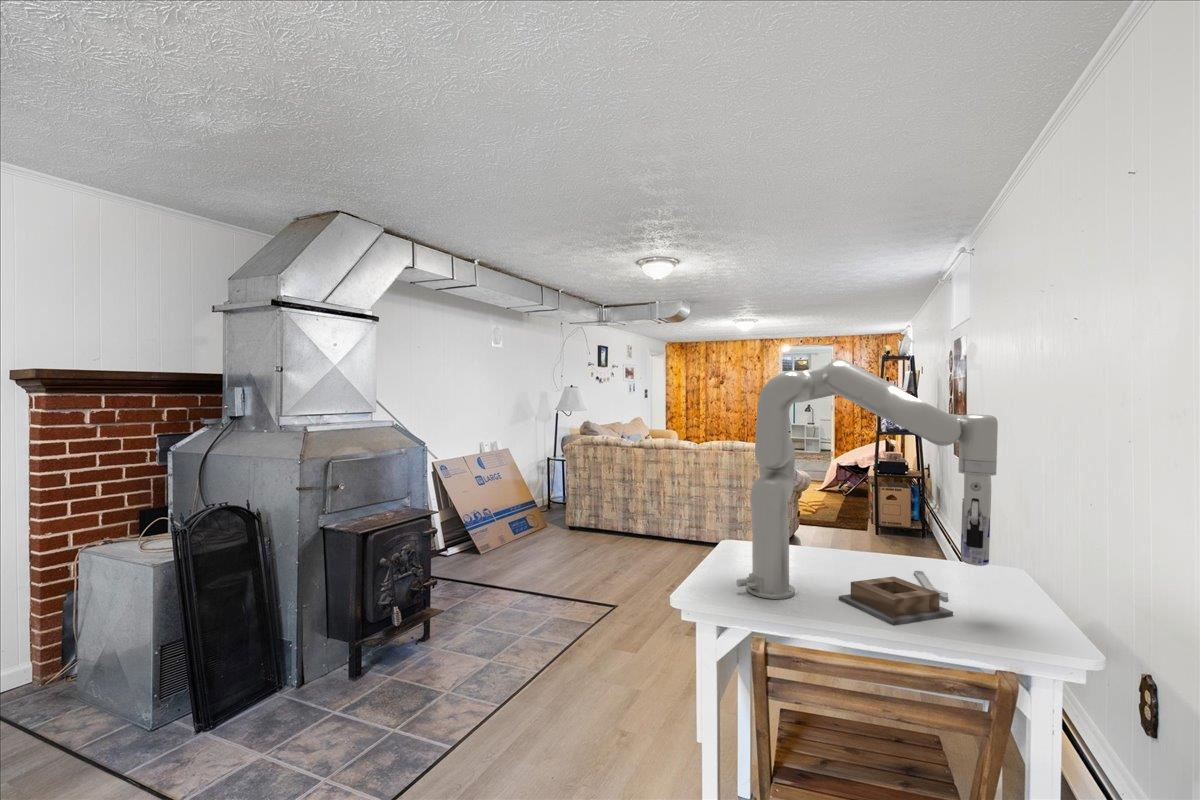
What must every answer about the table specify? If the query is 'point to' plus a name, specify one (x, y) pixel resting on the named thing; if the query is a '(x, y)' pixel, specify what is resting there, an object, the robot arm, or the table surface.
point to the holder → (895, 600)
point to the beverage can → (970, 553)
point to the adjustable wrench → (929, 584)
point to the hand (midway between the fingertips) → (975, 543)
